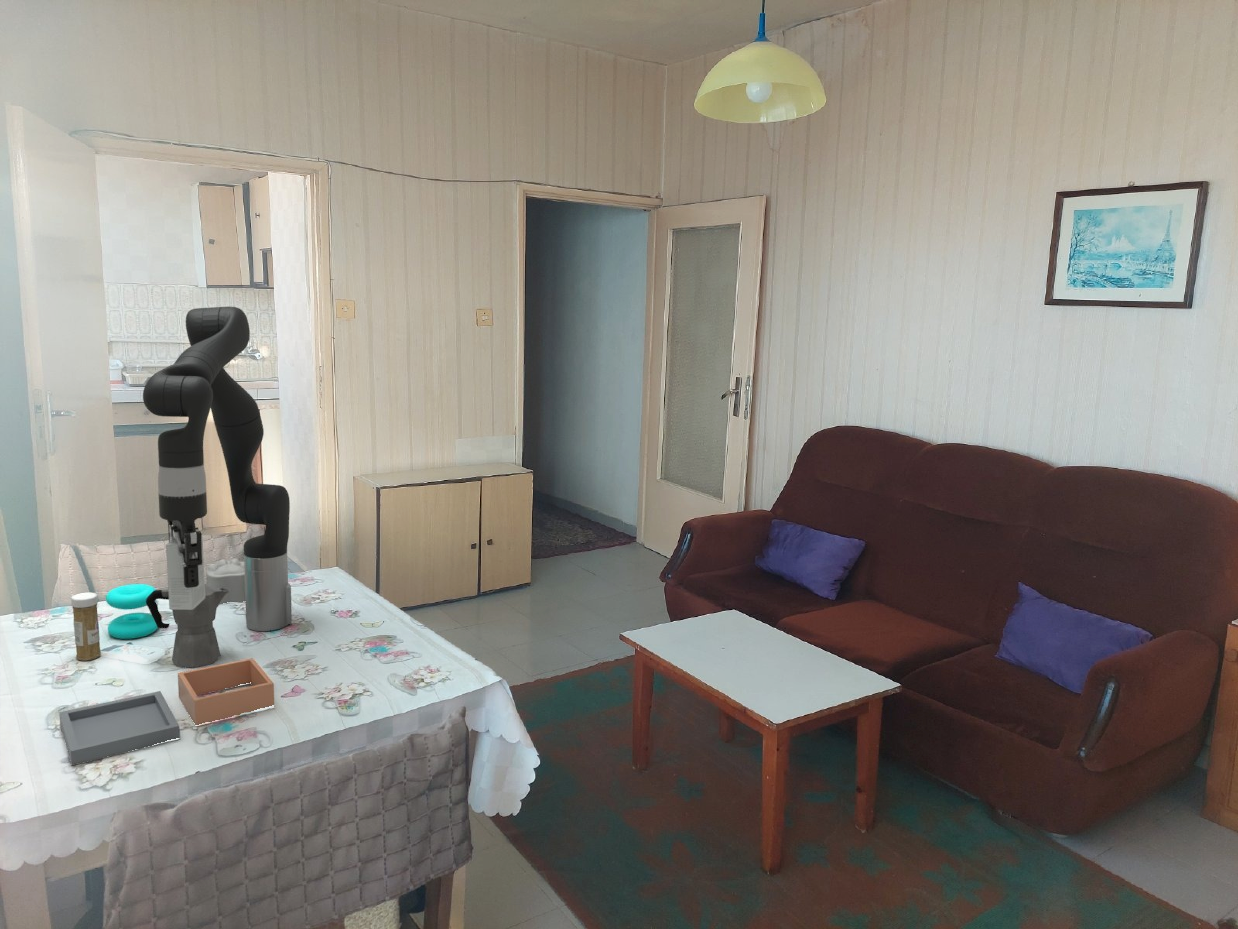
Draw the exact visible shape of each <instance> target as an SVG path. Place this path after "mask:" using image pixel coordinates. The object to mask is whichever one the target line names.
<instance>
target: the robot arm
mask: <svg viewBox="0 0 1238 929" xmlns="http://www.w3.org/2000/svg"><path fill="white" fill-rule="evenodd" d="M185 330H186V334H187V338H188V342H189V344H190V346H189V347H188V348H186V349H184V350H183V352H181V354H180V355H179V356H178V357H177V359H176V360H175V361H174V363H173V364H170V365H168V366H165V367H164V368H162V369H159V370H158V371H157V372H155V373H154V374H152V376H150V377H149V379H148V380H147V382H146V383H145V386H144V388H143V392H142V400H143V403H144V406H145V408H146V409H147V410H148V412H150V413H151V414H153V415H154V416H158V417H169V418H170V417H172V418H173V417H174V418H175V417H176V418H177V417H178V418H179V417H181V418H188V420H187V423H186V425H185V426H184V427H181V428H176V429H175V428H174V429H169V430H166V431H163V432H161V433H160V434H159V435H158V438H157V450H158V451H157V452H158V453H157V454H158V473H157V474H158V475H157V490H158V491H157V492H158V509H159V510H158V512H159V513H158V514H159V517H160V519H163V520H165V521H167V528H168V529H167V532H168V543H169V542H170V541H172V540H173V539H174V540H175V541H176V544H177V548H178V555H180V556H181V557H182V562H183V563H182V565H183V570H184V586H185V587H186V588H191V587H197V586H198V585H199V577H198V566H199V565H202V542H201V536H202V537H203V534H202V532H201V531H200V530H199V527H196V523H195V522H196V520H198V519H203V518H204V517H206V516H207V514H208V503H207V502H208V501H207V477H206V472H205V471H206V470H205V465H204V464H205V461H204V460H205V458H204V436H205V432H206V427H207V423H208V422H207V421H208V417H209V414H210V412H211V414H212V415H211V416H212V420H213V424H214V428H215V430H216V434H217V438H218V441H219V443H220V447H221V449H222V454H223V459H224V462H225V466H226V471H227V475H228V476H227V477H228V481H229V488H230V489H229V490H230V495H231V502H232V507H233V510H234V514H235V516H236V518H237V519H238V520H239V521H240V522H242V523H245V524H250V525H261V526H263V525H264V533H263V534H261V535H258V536H254V537H252V538H249V539H247V540H246V541H244V544H243V562H244V571H245V601H246V602H245V621H246V623H245V624H246V625H245V626H246V628H247V629H250V630H252V631H258V632H267V631H268V632H269V631H270V630H271V631H275V630H279V629H282V628H285V627H287V626H289V625H288V624H290V625H292V624H293V623H292V622H293V620H292V619H293V618H292V616H293V615H292V586H291V584H290V583H289V577H288V576H289V571H288V566H289V565H288V543H289V538H290V511H291V510H290V508H291V503H290V496H289V492H288V490H287V489H286V487H285V486H283V485H279V484H269V483H268V484H267V483H257V482H256V481H255V479H254V476H253V469H252V468H253V467H252V466H253V465H252V464H253V460H254V458H255V456H256V455H257V452H258V451H259V449H260V447H261V444H262V442H263V438H264V430H265V429H264V424H263V421H262V417H261V413H260V409H259V405H258V403H257V402H256V400H255V399H254V398H253V396H252V395H251V394H250V393H249V392H248V391H247V390H246V389H245V388H244V387H243V386H241V385H240V384H239V383H238V382H237V381H236V380H235V379H234V378H233V377H232V376H230V374H229V373H228V372H227V371H226V369H225V368H224V367H226V365H227V364H229V363H230V362H231V361H232V360H233V359H235V358H236V357H237V356H238V355H239V354H241V353H242V352H243V351H244V350H245V349H246V348H247V346H248V344H249V342H250V337H251V336H250V334H251V333H250V325H249V319H248V317H247V315H246V313H245V311H243V310H242V308H240V307H236V306H213V307H199V308H192V309H190V310H189V311H188V312H187V314H186V316H185ZM181 544H185V549H183V548H182V546H181ZM190 553H192V554H193V555H194V559H190ZM284 626H285V627H284Z"/></svg>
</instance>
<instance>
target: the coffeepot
mask: <svg viewBox="0 0 1238 929" xmlns="http://www.w3.org/2000/svg"><path fill="white" fill-rule="evenodd" d="M227 593H229V591H228V590H227V589H223V588H220V587H215V586H214V585H208V584H207V583H205V599H204V600H203V601H202V602H201V603H200V604H199V605H197V606H196V607H195V608H194V609H193V610H172V616H173V619H174V623H175V624H176V625H177V631H176V632H175V634H174V635H175V636H174V644H173V651H172V657H171V661H172V663H173V664H174V665H175V666H177V667H179V668H183V667H184V668H185V667H186V668H185V669H188V668H189V669H195V667H196V668H203V667H207V666H209V665H211V664H214V663H216V662H217V661H218V660H219V659H220V658H221V656H222V655H221V650H220V646H219V642H218V638H217V632H216V630H215V627H214V621H215V619H216V615H217V608H218V607H219V606H220V604H219V603H220V602H221V600H222V598H223V597H224V596H225V594H227ZM156 600H168V601H169V592H168V588H167V589H156V590H154V591H153V592H152V593H151V594H150V595H149V596H148V597H147V599H146V604H147V606H146V607H147V608H148V610H149V612H150V614H151V615H152V616H153V618H154V621H155V623H156V625H157V627H158V628H157V629H168V628H170V623H165V622H163V618H162V614H161V613H160V611H159V607H158V603H156ZM215 661H216V662H215ZM208 664H209V665H208ZM192 667H193V668H192Z"/></svg>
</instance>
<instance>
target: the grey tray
mask: <svg viewBox="0 0 1238 929" xmlns="http://www.w3.org/2000/svg"><path fill="white" fill-rule="evenodd" d="M58 713H59V714H58V715H59V726H60V728H61V729H60V730H61V733H62V736H63V739H64V744H65V743H66V744H65V747H66V750H68V751H67V753H68V757H70V758H69V761H70V760H71V761H70V764H72V765H71V766H75V764H76V765H78V764H77V763H80V764H84V763H83V762H85V763H89V762H92V761H91V760H93V761H96V760H100V758H101V759H104V758H103V757H105V758H108V757H107V756H109V757H113V756H116V755H121V754H120V753H122V754H125V753H129V752H128V751H130V752H133V751H132V750H134V751H136V750H135V749H138V750H141V749H145V748H144V747H146V748H149V747H148V746H150V747H153V746H152V745H154V744H157V743H161V742H165V741H167V740H171V739H176V738H180V739H181V732H180V725H179V723H178V720H177V719H176V717H175V715H174V713H173V712H172V709H171V707H170V706H169V704H168V702H167V701H166V698H165V697H164V695H163V693H162V692H161V690H159V691H155V692H154V691H153V692H149V693H143V694H140V695H135V696H130V697H125V698H121V699H117V700H111V701H106V702H102V703H97V704H93V705H88V706H83V707H79V708H74V709H69V710H68V709H67V710H63V711H59V712H58ZM154 746H155V745H154ZM87 761H88V762H87ZM73 764H74V765H73Z"/></svg>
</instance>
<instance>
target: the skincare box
mask: <svg viewBox="0 0 1238 929" xmlns="http://www.w3.org/2000/svg"><path fill="white" fill-rule="evenodd" d="M201 542H202V565H199V566H198V577H199V585H198V586H197V587H191V588H186V587H185V586H184V570H183V565H182V563H183V562H182V557H181V556H180V555H178V548H177V544H176V541H175V540H174V539H173V540H172V541H170V542H169V541H168V542H167V543H166V544H165V550H166V551H165V553H166V571H167V572H166V573H167V589H168V592H169V600H168V606H169V610H170V611H171V610H193V609H194V608H195V607H196V606H197V605H199V604H200V603H201V602H202V601H203V600H204V599H205V584H206V583H205V582H206V580H205V564H204V563H205V561H204V542H203V535H202V536H201ZM181 546H182V548H183V549H185V544H181ZM190 559H194V555H193V554H192V553H190Z"/></svg>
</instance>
